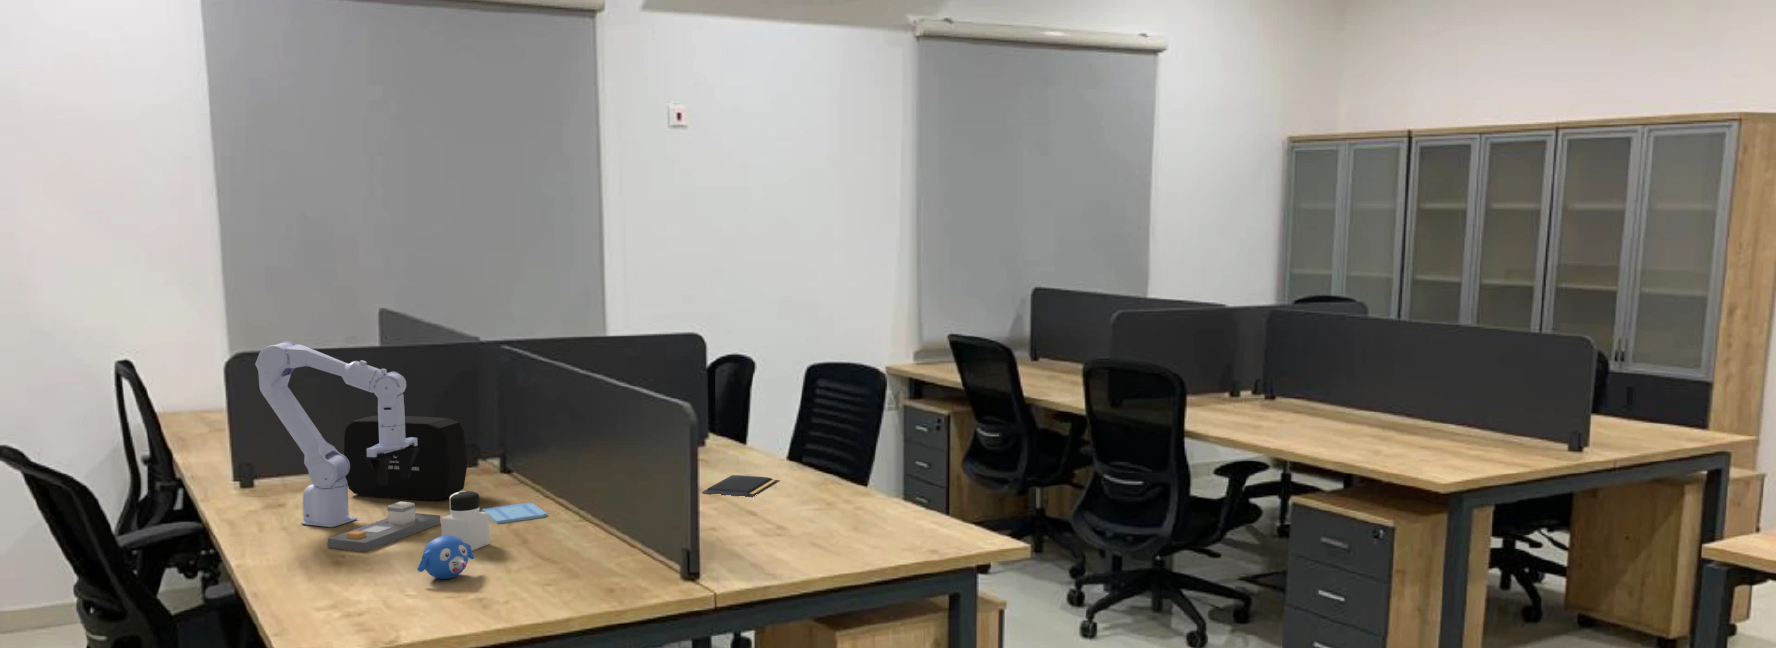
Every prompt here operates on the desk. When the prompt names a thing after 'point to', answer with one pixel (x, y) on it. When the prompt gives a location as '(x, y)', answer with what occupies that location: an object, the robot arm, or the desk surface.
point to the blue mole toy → (445, 557)
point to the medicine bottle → (466, 520)
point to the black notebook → (741, 486)
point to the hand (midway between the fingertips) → (394, 481)
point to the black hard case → (432, 469)
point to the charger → (401, 513)
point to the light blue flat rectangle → (514, 513)
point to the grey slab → (381, 533)
